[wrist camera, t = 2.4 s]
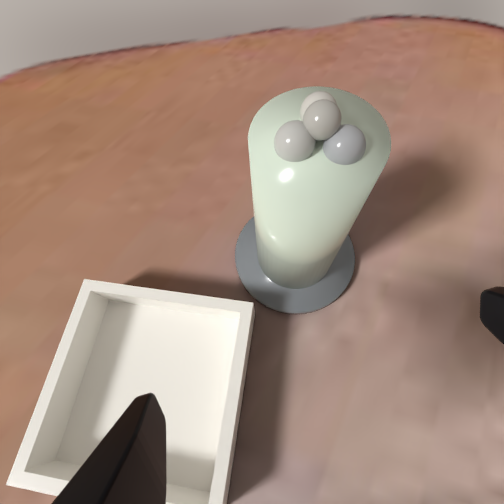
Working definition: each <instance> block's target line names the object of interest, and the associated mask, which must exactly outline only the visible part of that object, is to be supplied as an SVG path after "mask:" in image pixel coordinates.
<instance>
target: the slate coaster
mask: <svg viewBox="0 0 504 504" xmlns="http://www.w3.org/2000/svg"><path fill="white" fill-rule="evenodd" d="M235 261H236V267H237V271H238V274H239V277H240V279H241V282H242V284H243V285H244V287H245V288H246V290H247V291H248V292H249V293H250V294H251V296H252V297H254V298H255V299H256V300H257V301H258V302H260V303H261V304H263V305H264V306H266V307H268V308H270V309H272V310H275V311H278V312H282V313H287V314H306V313H311V312H314V311H317V310H320V309H322V308H324V307H326V306H328V305H329V304H331V303H332V302H334V301H335V300H336V299H337V298H338V297H339V296H340V295H341V293H342V292H343V291H344V290H345V289H346V287H347V285H348V284H349V282H350V280H351V277H352V274H353V270H354V264H355V254H354V248H353V245H352V242H351V239H350V237H349V235H347V237H346V239H345V240H344V242H343V244H342V246H341V248H340V250H339V251H338V253H337V255H336V257H335V259H334V261H333V263H332V264H331V266H330V268H329V270H328V272H327V273H326V275H325V276H324V277H323V278H322V279H321V280H320V281H319V282H317V283H316V284H314V285H312V286H310V287H307V288H302V289H289V288H285V287H282V286H279V285H277V284H275V283H274V282H272V281H271V280H270V279H269V278H268V277H267V276H266V275H265V274H264V273H263V271H262V269H261V268H260V265H259V262H258V257H257V244H256V232H255V220H254V217H253V218H252V219H251V220H249V221H248V223H247V224H246V225H245V226H244V228H243V230H242V231H241V233H240V235H239V238H238V241H237V244H236V250H235Z"/></svg>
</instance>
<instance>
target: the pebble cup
mask: <svg viewBox="0 0 504 504" xmlns="http://www.w3.org/2000/svg"><path fill="white" fill-rule="evenodd" d="M248 146H249V158H250V171H251V183H252V195H253V208H254V220H255V232H256V244H257V257H258V262H259V265H260V268H261V269H262V271H263V273H264V274H265V275H266V276H267V277H268V278H269V279H270V280H271V281H272V282H274V283H275V284H277V285H279V286H282V287H285V288H289V289H302V288H307V287H310V286H312V285H314V284H316V283H317V282H319V281H320V280H321V279H322V278H323V277H324V276H325V275H326V273H327V272H328V270H329V268H330V266H331V264H332V263H333V261H334V259H335V257H336V255H337V253H338V251H339V250H340V248H341V246H342V244H343V242H344V240H345V239H346V237H347V235H348V233H349V231H350V229H351V227H352V226H353V224H354V222H355V220H356V218H357V216H358V215H359V213H360V211H361V209H362V207H363V205H364V203H365V202H366V200H367V198H368V196H369V194H370V192H371V191H372V189H373V187H374V185H375V183H376V181H377V180H378V178H379V176H380V174H381V172H382V170H383V168H384V167H385V165H386V163H387V160H388V158H389V155H390V151H391V137H390V132H389V129H388V126H387V124H386V122H385V120H384V119H383V117H382V116H381V115H380V113H379V112H378V111H377V110H376V109H375V108H374V107H373V106H372V105H370V104H369V103H368V102H366V101H365V100H363V99H362V98H360V97H358V96H356V95H354V94H352V93H349V92H347V91H343V90H340V89H335V88H330V87H304V88H298V89H294V90H290V91H287V92H285V93H282V94H280V95H278V96H276V97H274V98H273V99H271V100H270V101H268V102H267V103H266V104H265V105H264V106H263V107H262V108H261V109H260V110H259V111H258V112H257V114H256V115H255V117H254V118H253V121H252V123H251V125H250V129H249V134H248Z"/></svg>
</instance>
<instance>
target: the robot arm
mask: <svg viewBox="0 0 504 504" xmlns="http://www.w3.org/2000/svg"><path fill="white" fill-rule="evenodd" d="M480 319H481V321H482V323H483V324H484V326H485V327H486V328H487V329H488V330H489V331H490V332H491V333H492V334H493V335H494V336H495V337H496V338H497V339H498V340H499V341H500V342H502V343H503V344H504V287H494V288H490V289H487V290H484V291H483V292H482V294H481V298H480ZM166 485H167V471H166V420H165V416H164V414H163V411H162V409H161V407H160V405H159V403H158V401H157V398H156V396H155V395H154V394H153V393H147V394H144V395H140V396H138V397H136V398H135V399H134V400H133V401H132V402H131V404H130V405H129V406H128V408H127V409H126V410H125V411H124V413H123V414H122V415H121V416H120V418H119V419H118V420H117V421H116V423H115V424H114V425H113V427H112V428H111V429H110V430H109V432H108V433H107V434H106V435H105V437H104V438H103V439H102V441H101V442H100V443H99V444H98V446H97V447H96V448H95V449H94V451H93V452H92V453H91V454H90V456H89V457H88V458H87V460H86V461H85V462H84V463H83V465H82V466H81V467H80V468H79V470H78V471H77V472H76V473H75V475H74V476H73V477H72V479H71V480H70V481H69V482H68V484H67V485H66V486H65V487H64V489H63V490H62V491H61V492H60V494H59V495H58V496H57V498H56V499H55V500H54V501H53V503H52V504H166Z"/></svg>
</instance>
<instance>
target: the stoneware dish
mask: <svg viewBox="0 0 504 504" xmlns="http://www.w3.org/2000/svg"><path fill="white" fill-rule="evenodd" d="M254 318H255V309H254V304H253V303H252V302H245V301H238V300H231V299H223V298H216V297H209V296H202V295H195V294H188V293H180V292H173V291H166V290H159V289H152V288H145V287H138V286H130V285H123V284H116V283H109V282H102V281H95V280H87V279H84V281H83V284H82V287H81V289H80V292H79V295H78V297H77V300H76V302H75V305H74V308H73V310H72V313H71V316H70V318H69V321H68V323H67V326H66V329H65V331H64V334H63V337H62V339H61V342H60V344H59V347H58V350H57V352H56V355H55V357H54V360H53V363H52V365H51V368H50V371H49V373H48V376H47V378H46V381H45V384H44V386H43V389H42V392H41V394H40V397H39V399H38V402H37V405H36V407H35V410H34V413H33V415H32V418H31V420H30V423H29V426H28V428H27V431H26V434H25V436H24V439H23V441H22V444H21V447H20V449H19V452H18V455H17V457H16V460H15V462H14V465H13V468H12V470H11V473H10V475H9V478H8V481H7V483H6V485H9V486H14V487H18V488H23V489H27V490H32V491H37V492H41V493H46V494H50V495H55V496H58V495H59V494H60V492H61V491H62V490H63V489H64V487H65V486H66V485H67V484H68V482H69V481H70V480H71V479H72V477H73V476H74V475H75V473H76V472H77V471H78V470H79V468H80V467H81V466H82V465H83V463H84V462H85V461H86V460H87V458H88V457H89V456H90V454H91V453H92V452H93V451H94V449H95V448H96V447H97V446H98V444H99V443H100V442H101V441H102V439H103V438H104V437H105V435H106V434H107V433H108V432H109V430H110V429H111V428H112V427H113V425H114V424H115V423H116V421H117V420H118V419H119V418H120V416H121V415H122V414H123V413H124V411H125V410H126V409H127V408H128V406H129V405H130V404H131V402H132V401H133V400H134V399H135V398H136V397H138V396H140V395H144V394H147V393H153V394H154V395H155V396H156V398H157V401H158V403H159V405H160V407H161V409H162V411H163V414H164V416H165V420H166V471H167V485H166V504H227V499H228V493H229V486H230V479H231V473H232V466H233V459H234V452H235V446H236V439H237V432H238V426H239V419H240V412H241V405H242V399H243V392H244V385H245V379H246V372H247V365H248V358H249V352H250V345H251V338H252V332H253V325H254Z"/></svg>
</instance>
